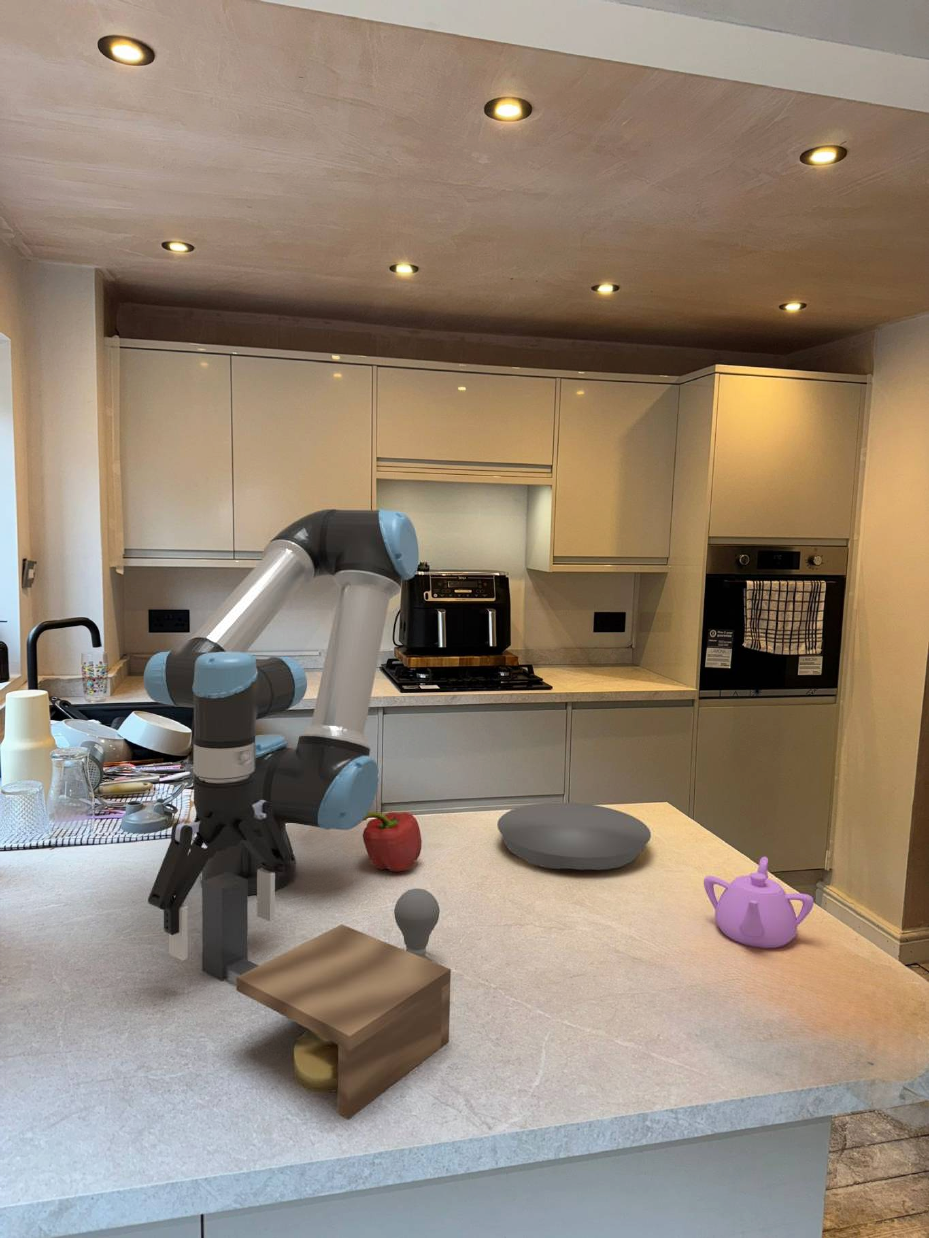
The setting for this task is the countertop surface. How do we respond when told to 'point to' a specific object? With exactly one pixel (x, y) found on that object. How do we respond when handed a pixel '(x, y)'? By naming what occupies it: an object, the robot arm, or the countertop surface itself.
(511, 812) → the flat disc
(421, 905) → the light bulb
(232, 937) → the l-shaped hook tool
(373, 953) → the shelf
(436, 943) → the countertop surface
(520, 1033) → the countertop surface
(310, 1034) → the ball
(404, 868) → the vegetable
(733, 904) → the teapot
